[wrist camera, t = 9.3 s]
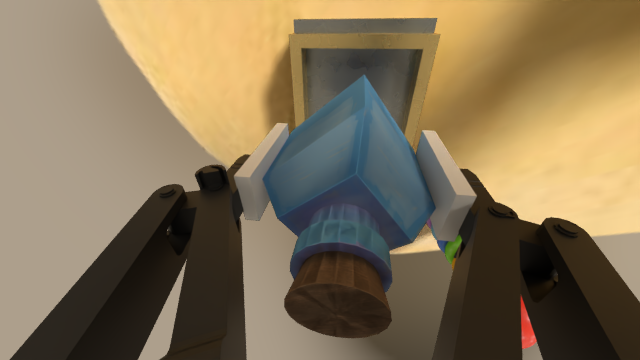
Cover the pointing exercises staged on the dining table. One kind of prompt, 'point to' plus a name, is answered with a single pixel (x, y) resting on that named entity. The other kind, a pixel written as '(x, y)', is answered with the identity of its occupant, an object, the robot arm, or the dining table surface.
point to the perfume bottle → (347, 211)
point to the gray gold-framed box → (363, 63)
